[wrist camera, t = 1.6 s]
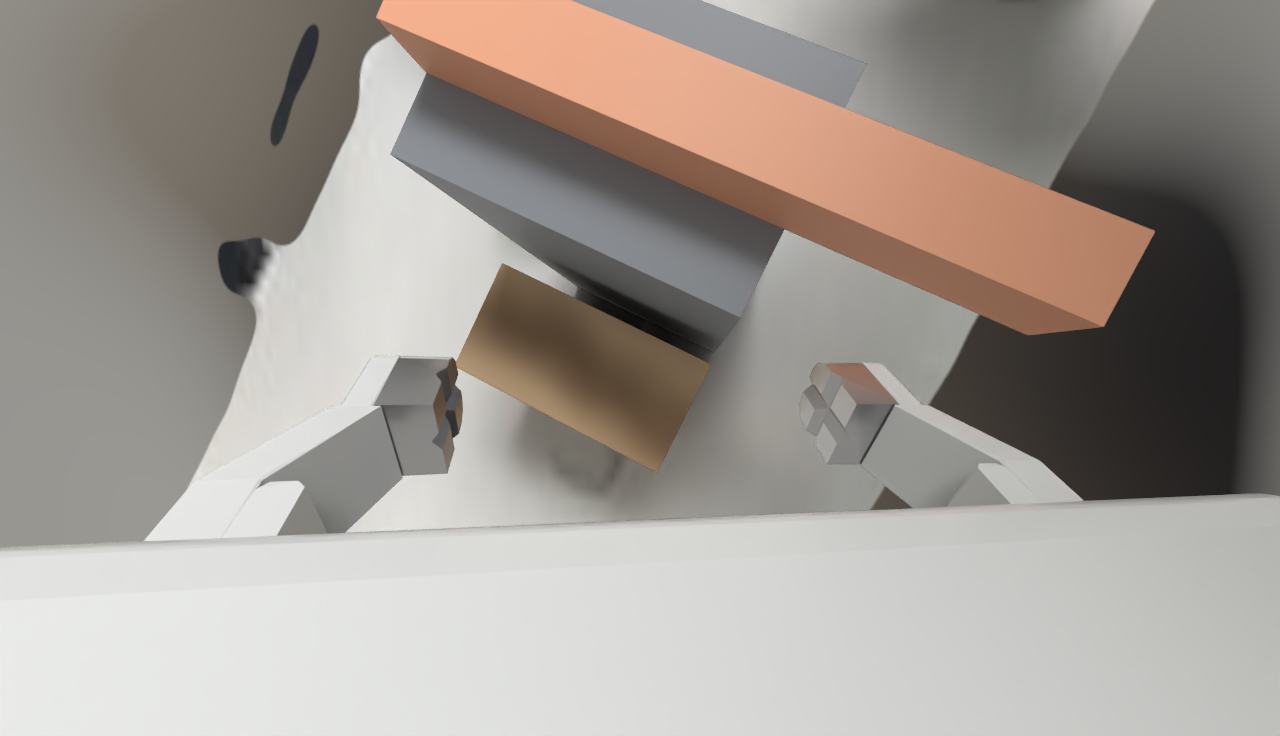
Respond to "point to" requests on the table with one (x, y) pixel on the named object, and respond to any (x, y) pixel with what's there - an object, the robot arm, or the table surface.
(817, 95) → the pedestal
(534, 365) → the block
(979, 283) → the bar
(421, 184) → the table surface
